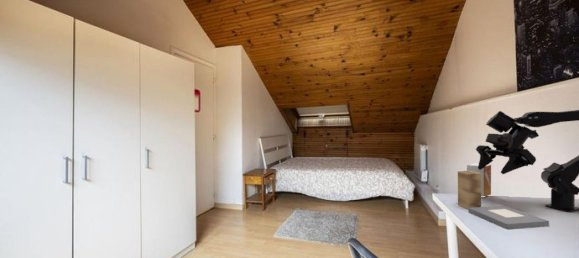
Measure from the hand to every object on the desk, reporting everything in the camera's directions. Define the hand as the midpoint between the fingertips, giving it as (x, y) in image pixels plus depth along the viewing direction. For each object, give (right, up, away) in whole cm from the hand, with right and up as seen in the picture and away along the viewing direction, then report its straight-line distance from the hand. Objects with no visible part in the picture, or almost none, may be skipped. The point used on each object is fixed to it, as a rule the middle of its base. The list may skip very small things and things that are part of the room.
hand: (489, 171), depth 92 cm
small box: (+7, -13, +14) cm, 20 cm away
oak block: (-8, -13, 0) cm, 15 cm away
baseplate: (-4, -14, -11) cm, 18 cm away
